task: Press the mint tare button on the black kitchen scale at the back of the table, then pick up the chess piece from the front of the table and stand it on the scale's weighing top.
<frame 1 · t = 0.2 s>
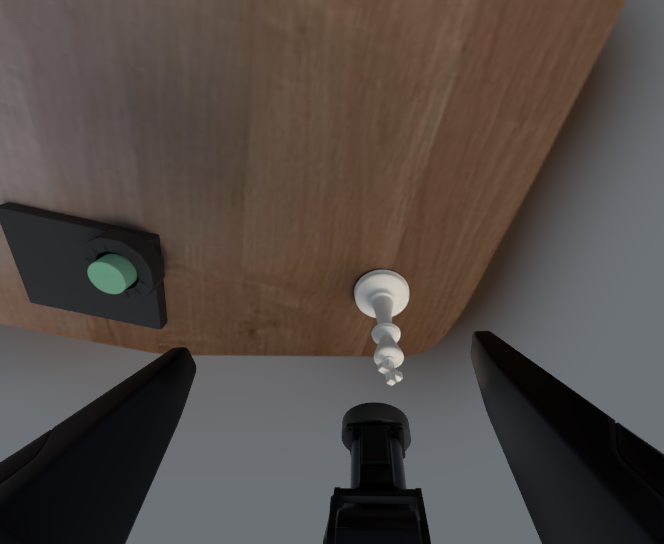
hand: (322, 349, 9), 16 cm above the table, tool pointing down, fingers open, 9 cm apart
scale: (95, 267, 28), on the table
tare button: (113, 273, 24), point 3 cm above the table, slide at 0.1 cm
chess piece: (381, 291, 27), on the table
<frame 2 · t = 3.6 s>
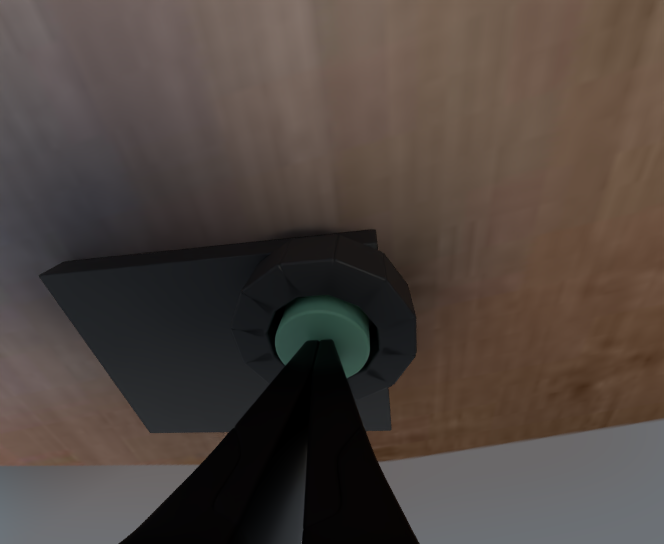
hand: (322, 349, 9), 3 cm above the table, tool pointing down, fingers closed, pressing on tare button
scale: (243, 342, 14), on the table
tare button: (324, 333, 10), point 3 cm above the table, slide at -0.7 cm, touching gripper
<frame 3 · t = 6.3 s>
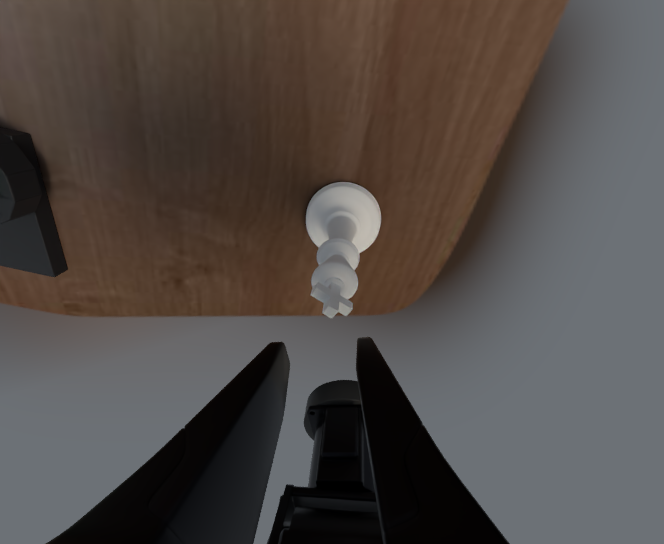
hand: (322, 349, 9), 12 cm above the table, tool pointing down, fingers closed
chess piece: (343, 218, 20), on the table
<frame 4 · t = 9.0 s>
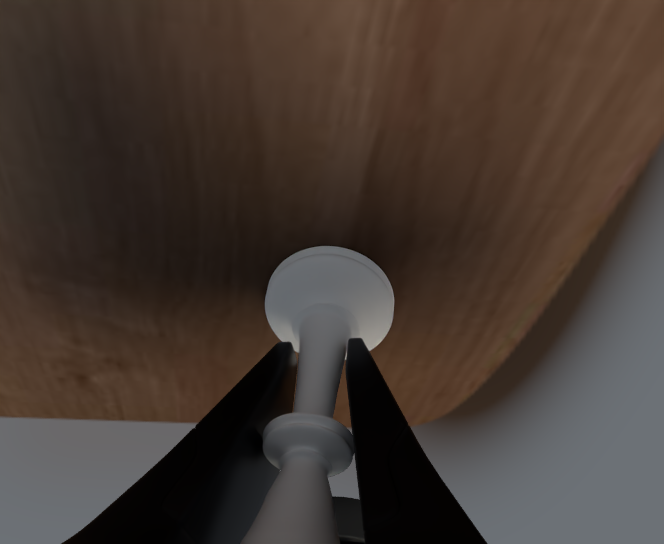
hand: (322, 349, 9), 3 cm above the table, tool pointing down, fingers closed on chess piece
chess piece: (330, 300, 12), on the table, touching gripper
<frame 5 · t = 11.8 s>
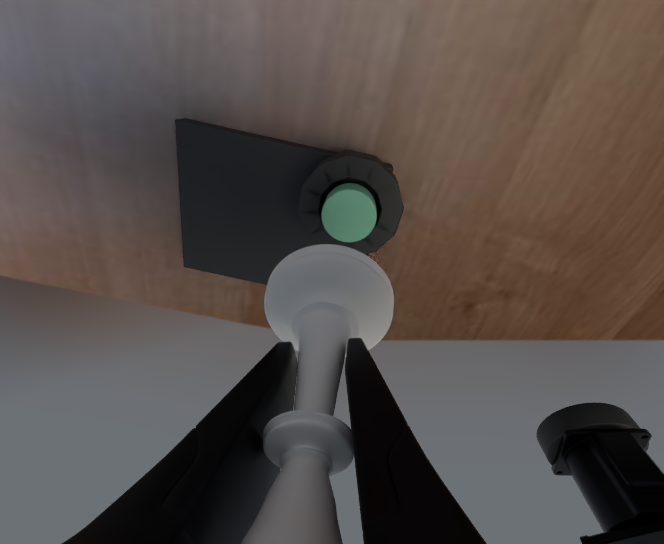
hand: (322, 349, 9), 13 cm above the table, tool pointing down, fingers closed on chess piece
scale: (280, 217, 21), on the table
tare button: (349, 212, 17), point 3 cm above the table, slide at 0.1 cm
chess piece: (329, 298, 12), point 10 cm above the table, touching gripper
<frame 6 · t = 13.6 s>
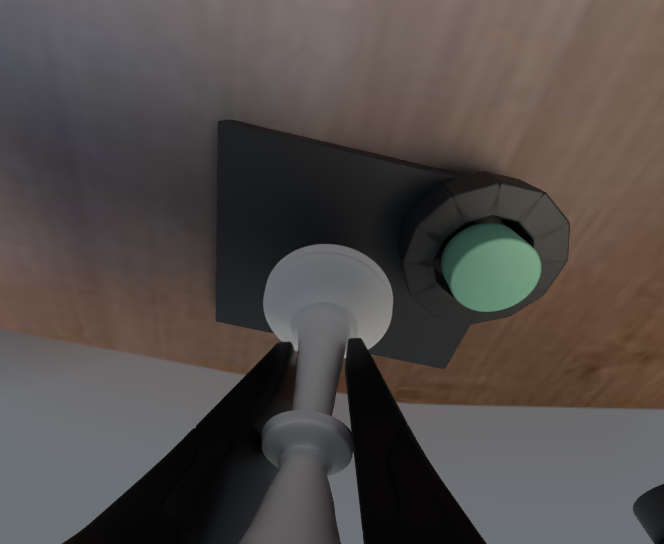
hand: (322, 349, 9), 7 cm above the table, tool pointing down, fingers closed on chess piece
scale: (353, 257, 15), on the table
tare button: (486, 267, 11), point 3 cm above the table, slide at 0.1 cm
chess piece: (328, 298, 12), point 4 cm above the table, touching gripper
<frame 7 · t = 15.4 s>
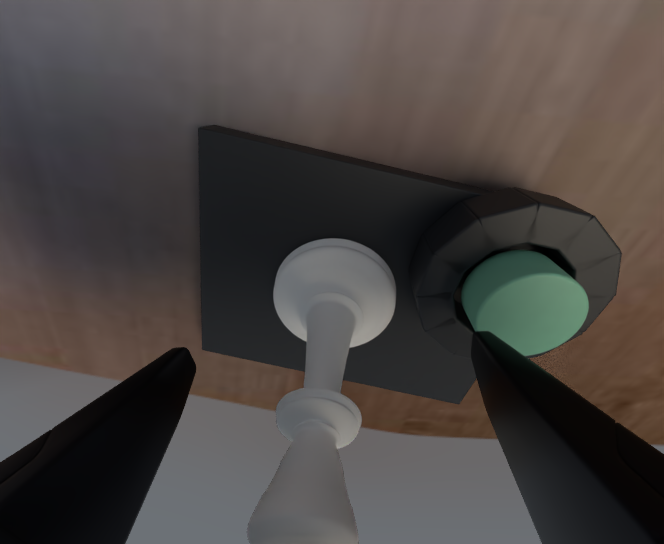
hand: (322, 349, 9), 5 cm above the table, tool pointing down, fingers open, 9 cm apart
scale: (357, 281, 13), on the table
tare button: (518, 303, 9), point 3 cm above the table, slide at 0.1 cm
chess piece: (335, 290, 12), point 1 cm above the table, touching scale
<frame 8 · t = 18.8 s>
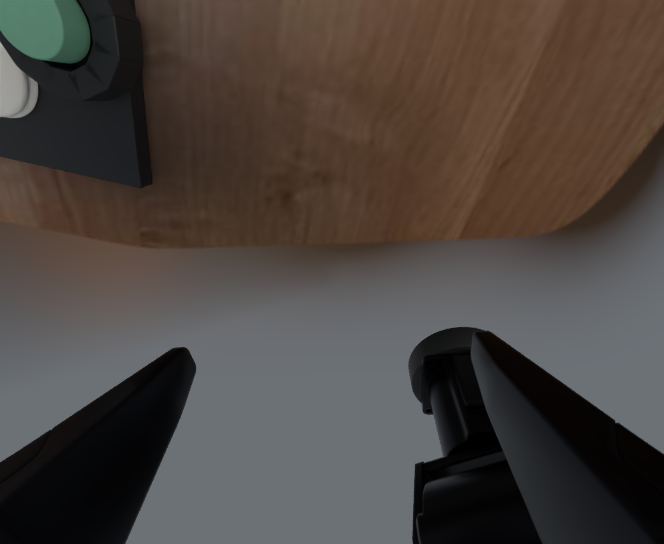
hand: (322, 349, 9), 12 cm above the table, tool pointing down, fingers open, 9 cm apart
scale: (29, 70, 17), on the table
tare button: (42, 19, 13), point 3 cm above the table, slide at 0.1 cm
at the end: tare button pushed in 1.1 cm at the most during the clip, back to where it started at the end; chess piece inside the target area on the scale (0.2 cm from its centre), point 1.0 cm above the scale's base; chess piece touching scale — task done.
